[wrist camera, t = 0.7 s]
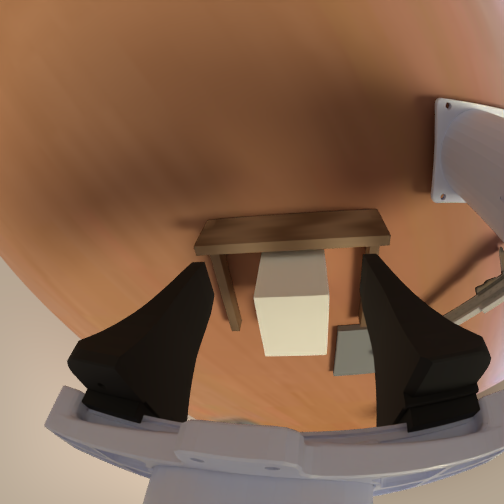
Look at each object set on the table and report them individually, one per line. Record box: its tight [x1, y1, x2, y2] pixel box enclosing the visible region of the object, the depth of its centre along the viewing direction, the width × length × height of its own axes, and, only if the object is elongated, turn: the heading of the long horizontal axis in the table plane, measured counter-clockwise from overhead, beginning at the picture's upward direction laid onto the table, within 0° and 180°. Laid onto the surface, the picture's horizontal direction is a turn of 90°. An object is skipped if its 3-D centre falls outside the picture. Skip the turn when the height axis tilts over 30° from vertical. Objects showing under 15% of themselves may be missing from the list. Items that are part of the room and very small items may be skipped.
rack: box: [194, 209, 391, 331], centre depth 24 cm, size 14×12×4 cm
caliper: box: [443, 247, 504, 325], centre depth 22 cm, size 20×1×6 cm, turn 145°
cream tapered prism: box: [254, 249, 329, 356], centre depth 22 cm, size 4×6×8 cm
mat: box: [333, 324, 375, 376], centre depth 31 cm, size 8×9×1 cm
